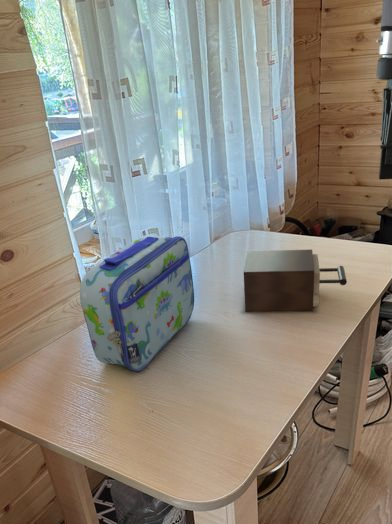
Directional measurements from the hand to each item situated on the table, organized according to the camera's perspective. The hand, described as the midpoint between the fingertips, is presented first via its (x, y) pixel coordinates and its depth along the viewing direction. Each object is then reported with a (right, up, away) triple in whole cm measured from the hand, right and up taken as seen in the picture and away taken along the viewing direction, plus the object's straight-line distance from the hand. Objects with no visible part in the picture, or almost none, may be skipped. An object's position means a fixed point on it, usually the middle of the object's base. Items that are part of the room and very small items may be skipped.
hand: (385, 178), depth 113 cm
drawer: (-18, -26, +3) cm, 32 cm away
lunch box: (-51, -37, -7) cm, 63 cm away
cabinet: (-23, -26, +4) cm, 35 cm away
